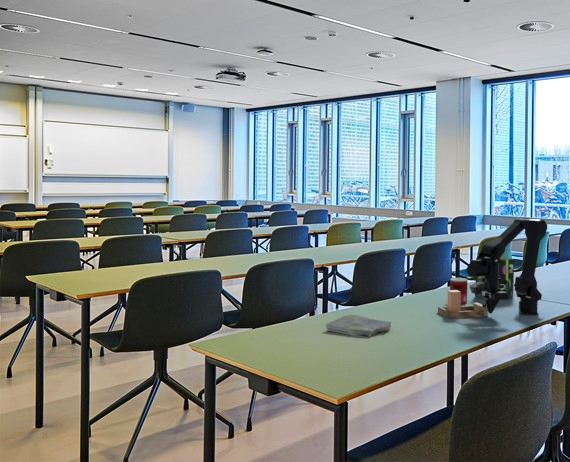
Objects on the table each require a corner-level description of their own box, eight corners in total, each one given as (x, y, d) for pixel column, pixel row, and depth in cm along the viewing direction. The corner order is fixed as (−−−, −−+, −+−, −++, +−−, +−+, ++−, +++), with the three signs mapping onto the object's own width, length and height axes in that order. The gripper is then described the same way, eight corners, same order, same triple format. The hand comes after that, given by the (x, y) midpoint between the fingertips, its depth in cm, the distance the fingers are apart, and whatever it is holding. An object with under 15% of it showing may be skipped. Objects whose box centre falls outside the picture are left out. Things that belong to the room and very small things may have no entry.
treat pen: (464, 306, 265) (464, 300, 265) (488, 318, 244) (488, 310, 243) (427, 308, 263) (427, 301, 263) (448, 319, 241) (448, 312, 241)
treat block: (456, 313, 249) (456, 290, 249) (460, 315, 245) (460, 291, 245) (447, 314, 249) (447, 290, 248) (451, 316, 245) (451, 292, 244)
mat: (474, 319, 242) (474, 317, 242) (486, 325, 232) (486, 323, 232) (451, 320, 240) (451, 318, 240) (462, 326, 230) (462, 324, 230)
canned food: (465, 301, 277) (465, 277, 276) (468, 305, 269) (469, 280, 268) (448, 301, 278) (448, 277, 277) (451, 304, 270) (451, 280, 269)
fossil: (374, 342, 213) (394, 329, 227) (373, 330, 213) (394, 317, 226) (326, 336, 225) (348, 323, 239) (325, 324, 224) (347, 312, 238)
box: (491, 300, 278) (492, 260, 277) (474, 296, 289) (474, 257, 287) (514, 297, 284) (515, 258, 282) (496, 293, 295) (497, 255, 293)
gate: (477, 310, 254) (477, 300, 254) (488, 315, 245) (488, 304, 245) (473, 310, 254) (473, 300, 254) (483, 315, 245) (483, 305, 244)
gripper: (462, 272, 250) (461, 309, 251) (483, 279, 232) (482, 319, 233) (487, 271, 252) (486, 308, 253) (510, 278, 233) (509, 318, 235)
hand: (490, 313), depth 244 cm, fingers closed
